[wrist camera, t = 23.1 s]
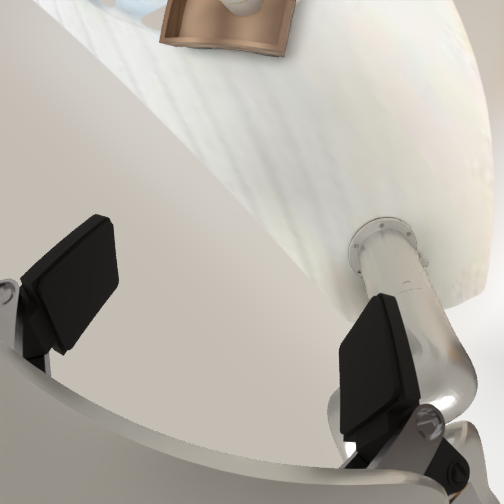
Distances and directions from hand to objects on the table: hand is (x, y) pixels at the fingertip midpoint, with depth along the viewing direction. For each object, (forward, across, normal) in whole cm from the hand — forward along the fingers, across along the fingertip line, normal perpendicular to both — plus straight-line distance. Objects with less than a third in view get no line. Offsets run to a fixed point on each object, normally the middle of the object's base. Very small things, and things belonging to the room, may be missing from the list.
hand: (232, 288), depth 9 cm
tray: (+32, +10, -18) cm, 38 cm away
